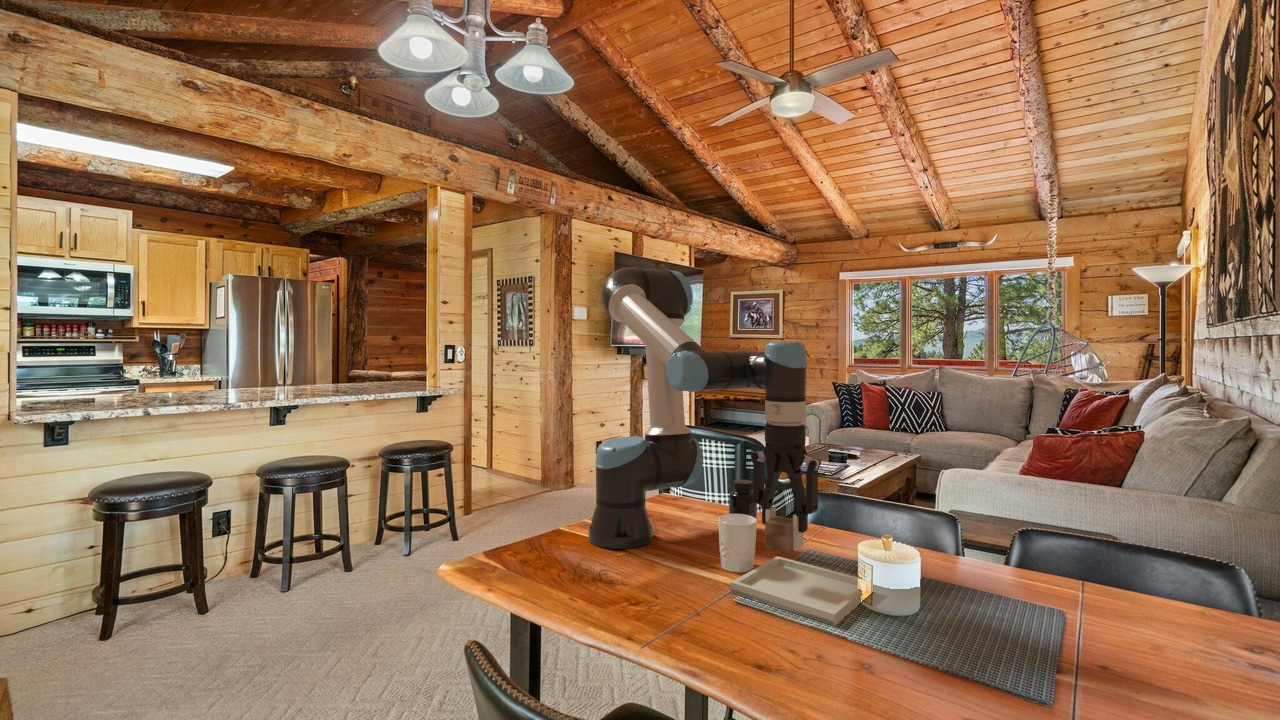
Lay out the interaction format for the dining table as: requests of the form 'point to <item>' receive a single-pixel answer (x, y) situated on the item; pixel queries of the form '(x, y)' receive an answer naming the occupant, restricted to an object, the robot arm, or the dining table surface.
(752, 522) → the white cup
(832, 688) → the dining table surface
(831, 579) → the tray
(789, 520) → the walnut block
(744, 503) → the supplement bottle
